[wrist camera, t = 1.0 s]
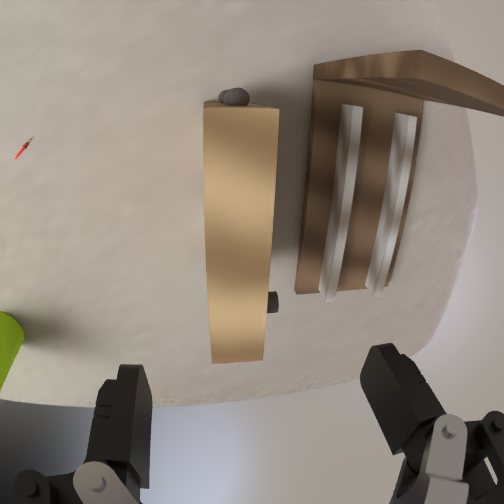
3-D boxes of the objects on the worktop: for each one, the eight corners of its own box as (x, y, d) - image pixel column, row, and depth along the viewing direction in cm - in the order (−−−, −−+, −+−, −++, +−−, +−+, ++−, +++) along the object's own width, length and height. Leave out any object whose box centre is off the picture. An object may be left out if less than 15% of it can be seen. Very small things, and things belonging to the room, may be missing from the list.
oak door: (204, 91, 25) (203, 86, 13) (262, 91, 26) (313, 91, 14) (206, 262, 33) (212, 363, 21) (255, 260, 34) (285, 357, 22)
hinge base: (313, 65, 25) (421, 49, 11) (418, 86, 27) (540, 107, 13) (294, 289, 36) (343, 402, 22) (384, 282, 38) (453, 371, 24)
